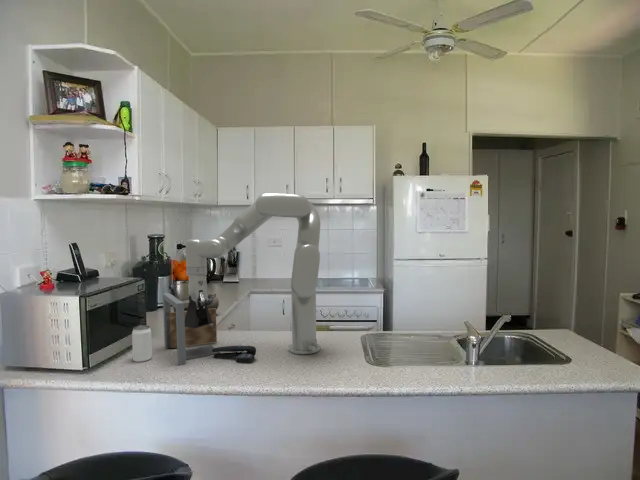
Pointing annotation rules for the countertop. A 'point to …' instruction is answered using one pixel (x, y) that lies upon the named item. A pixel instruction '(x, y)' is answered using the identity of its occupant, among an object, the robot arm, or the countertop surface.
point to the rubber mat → (200, 352)
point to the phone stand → (196, 316)
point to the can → (141, 343)
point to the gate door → (191, 331)
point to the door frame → (180, 324)
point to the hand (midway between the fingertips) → (197, 317)
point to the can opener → (236, 353)
